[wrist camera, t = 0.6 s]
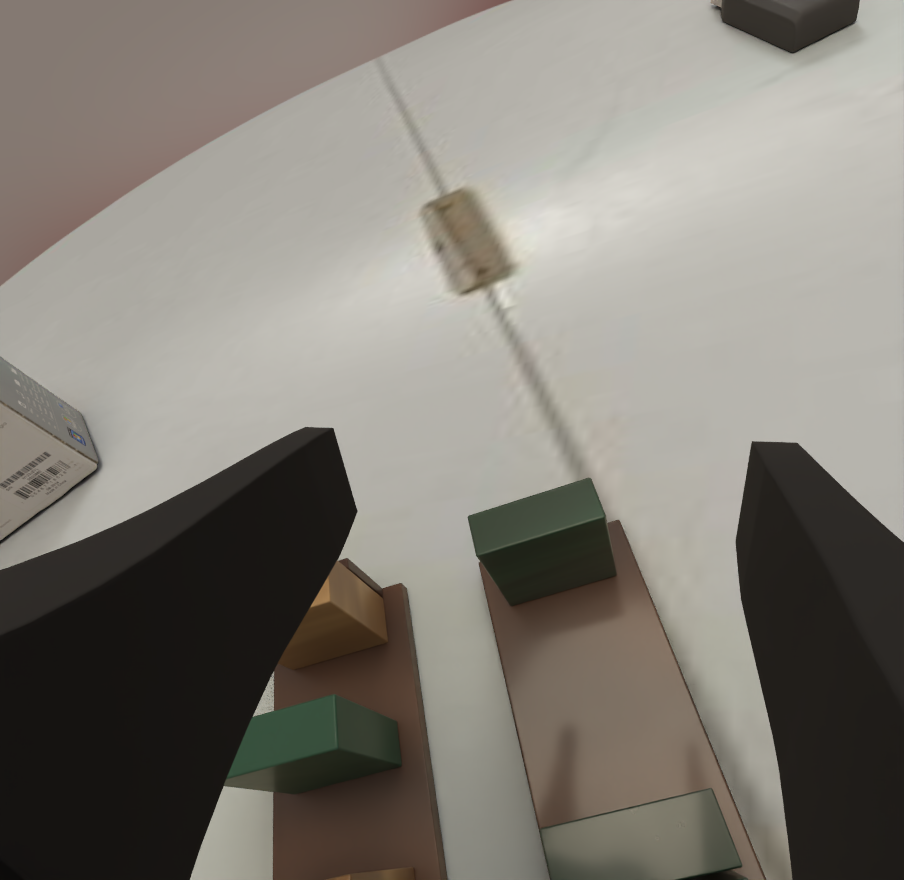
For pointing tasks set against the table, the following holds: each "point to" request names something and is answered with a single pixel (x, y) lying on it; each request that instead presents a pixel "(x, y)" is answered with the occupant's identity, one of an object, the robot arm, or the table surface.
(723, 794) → the green rack
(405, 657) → the tan rack
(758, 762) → the table surface
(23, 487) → the hard drive box
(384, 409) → the table surface
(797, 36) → the usb drive
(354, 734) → the green book
